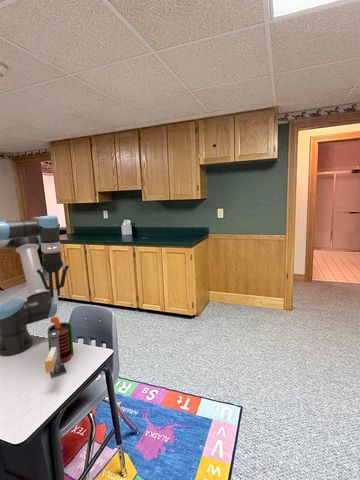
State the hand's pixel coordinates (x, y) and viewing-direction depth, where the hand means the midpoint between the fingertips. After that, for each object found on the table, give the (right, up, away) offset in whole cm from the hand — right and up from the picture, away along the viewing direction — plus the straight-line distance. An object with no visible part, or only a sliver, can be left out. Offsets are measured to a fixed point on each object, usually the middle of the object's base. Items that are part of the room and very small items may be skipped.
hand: (55, 303), depth 117 cm
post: (+3, -28, -5) cm, 29 cm away
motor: (0, -27, +4) cm, 28 cm away
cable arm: (+5, -21, -13) cm, 25 cm away
